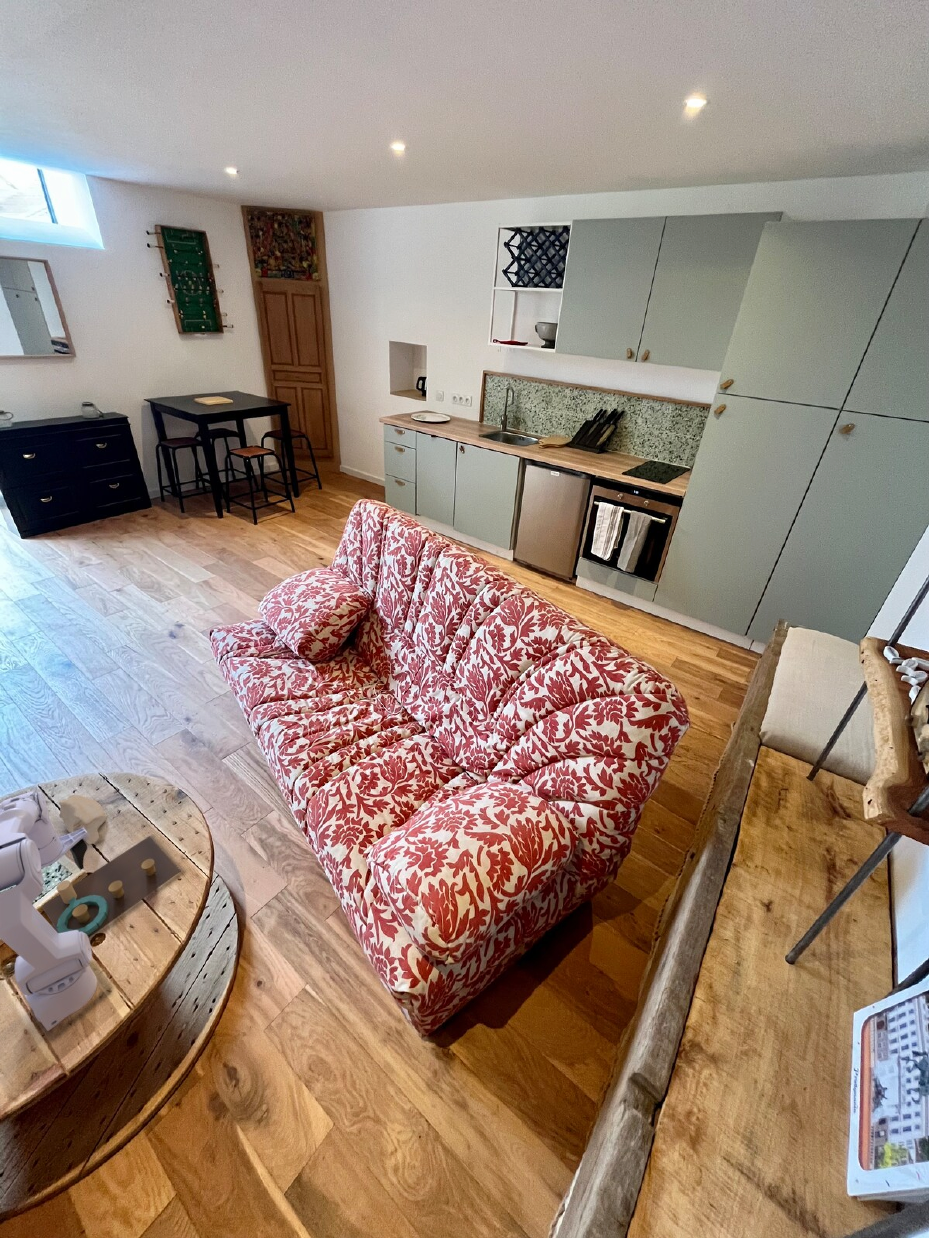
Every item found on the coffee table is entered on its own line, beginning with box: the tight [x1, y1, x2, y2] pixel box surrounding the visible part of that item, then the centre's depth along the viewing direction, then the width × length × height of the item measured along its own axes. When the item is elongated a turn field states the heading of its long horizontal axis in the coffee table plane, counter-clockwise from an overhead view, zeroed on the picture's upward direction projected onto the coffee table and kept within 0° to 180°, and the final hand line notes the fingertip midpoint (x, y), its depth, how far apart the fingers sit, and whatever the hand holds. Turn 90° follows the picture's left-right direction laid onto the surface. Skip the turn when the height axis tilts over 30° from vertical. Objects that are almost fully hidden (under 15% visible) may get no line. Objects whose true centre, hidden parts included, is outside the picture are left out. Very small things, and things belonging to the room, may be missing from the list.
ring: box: [56, 880, 109, 935], centre depth 109 cm, size 9×13×5 cm
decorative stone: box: [58, 794, 108, 846], centre depth 128 cm, size 8×14×8 cm, turn 51°
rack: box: [41, 836, 181, 939], centre depth 115 cm, size 23×15×4 cm, turn 144°
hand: (60, 879), depth 109 cm, fingers open, 7 cm apart
